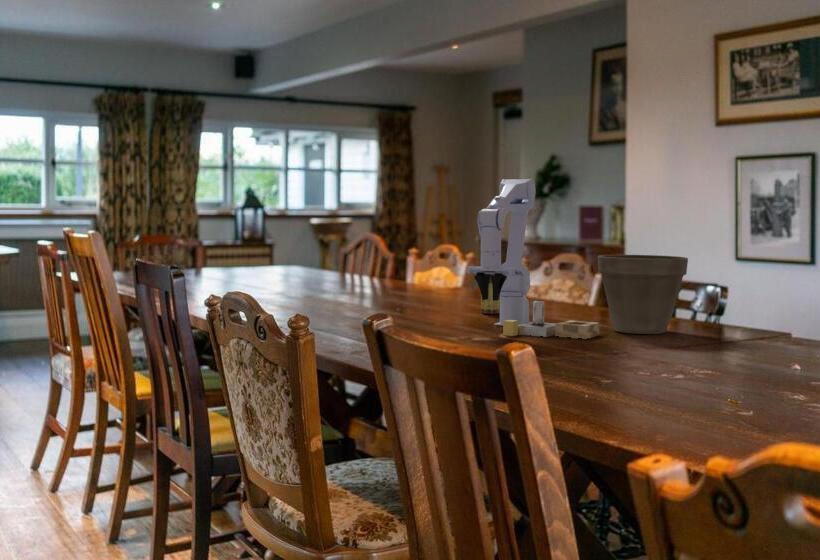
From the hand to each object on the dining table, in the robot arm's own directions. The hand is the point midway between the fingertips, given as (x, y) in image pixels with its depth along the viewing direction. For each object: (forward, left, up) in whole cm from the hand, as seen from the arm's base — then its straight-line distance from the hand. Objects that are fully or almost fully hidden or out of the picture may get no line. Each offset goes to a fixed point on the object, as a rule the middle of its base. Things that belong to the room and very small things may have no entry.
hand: (490, 300), depth 268 cm
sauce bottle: (-41, -24, -10) cm, 48 cm away
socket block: (-7, +11, -9) cm, 16 cm away
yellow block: (0, +6, -9) cm, 11 cm away
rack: (-9, +22, -9) cm, 26 cm away
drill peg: (-7, +11, -9) cm, 16 cm away
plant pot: (-28, +33, -10) cm, 45 cm away
